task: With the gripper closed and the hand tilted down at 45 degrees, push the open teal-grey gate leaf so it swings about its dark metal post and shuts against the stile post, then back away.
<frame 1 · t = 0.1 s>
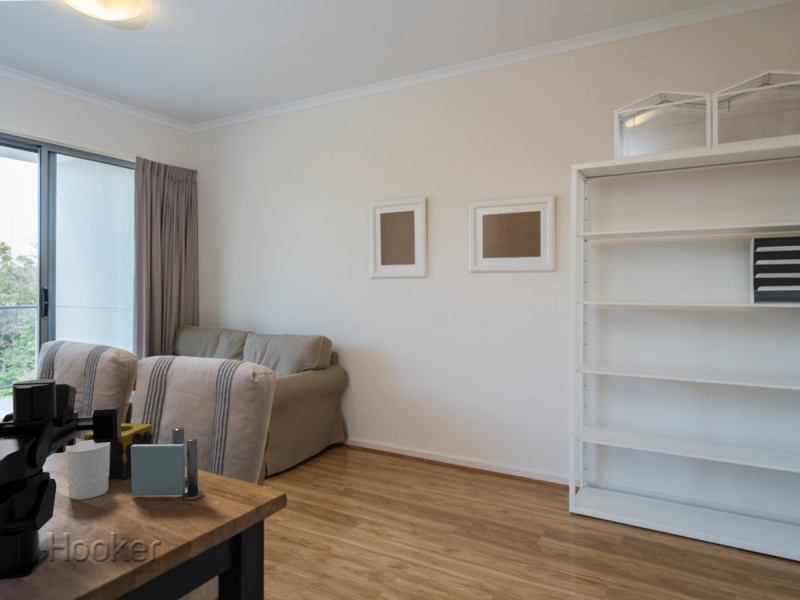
hand: (82, 416, 100), 17 cm above the table, tool horizontal, fingers open, 9 cm apart
stile post: (179, 481, 109), on the table
white cup: (89, 494, 103), on the table
holed cube box: (119, 472, 115), on the table
gate: (158, 469, 101), point 6 cm above the table, hinge at 40.0°
hinge post: (193, 496, 101), on the table
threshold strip: (175, 486, 105), on the table
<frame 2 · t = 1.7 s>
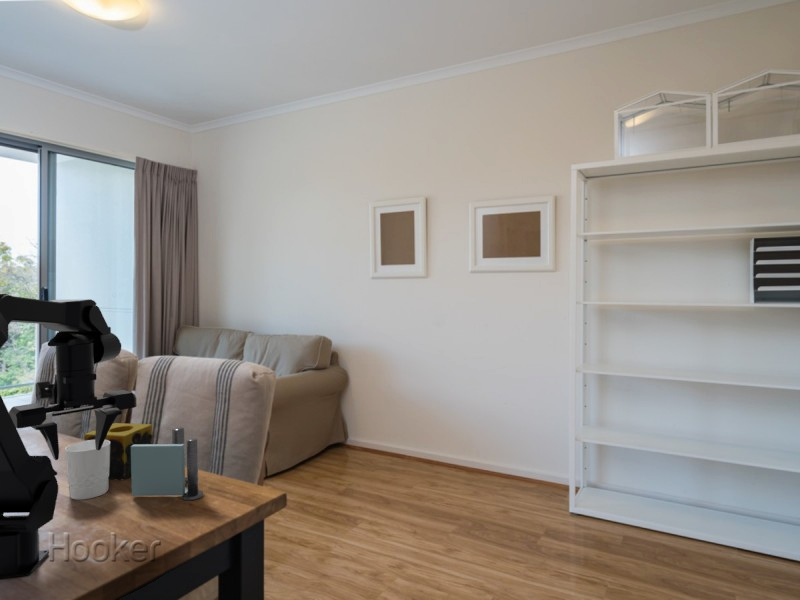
hand: (77, 454, 91), 12 cm above the table, tool pointing down, fingers open, 6 cm apart
nothing on the table moved.
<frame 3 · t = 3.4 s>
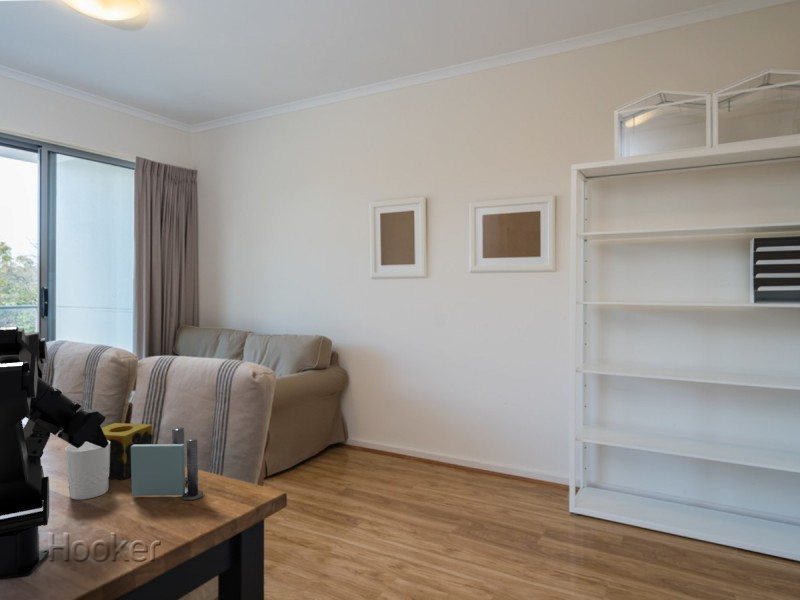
hand: (106, 445, 95), 12 cm above the table, tool tilted 45°, fingers closed
nothing on the table moved.
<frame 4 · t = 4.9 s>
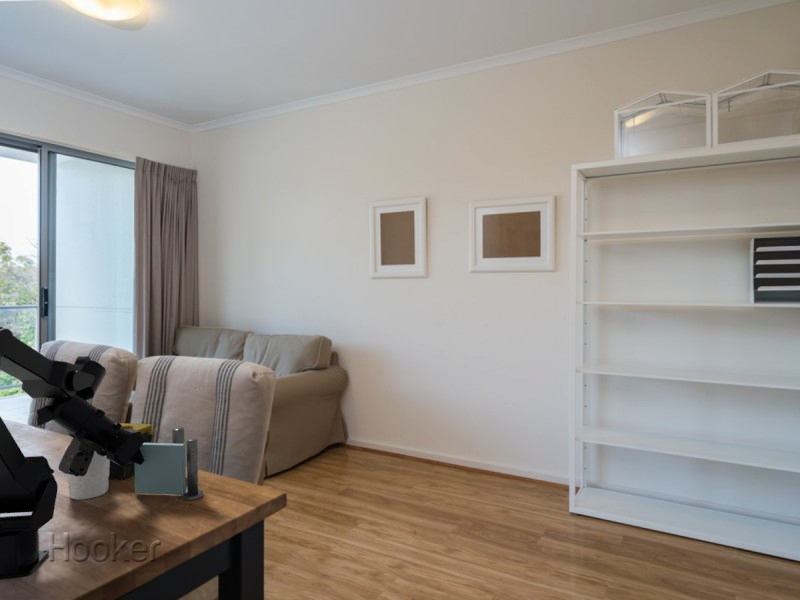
hand: (141, 462, 101), 7 cm above the table, tool tilted 45°, fingers closed
gate: (160, 468, 101), point 6 cm above the table, hinge at 33.9°, touching gripper
everything else where it was.
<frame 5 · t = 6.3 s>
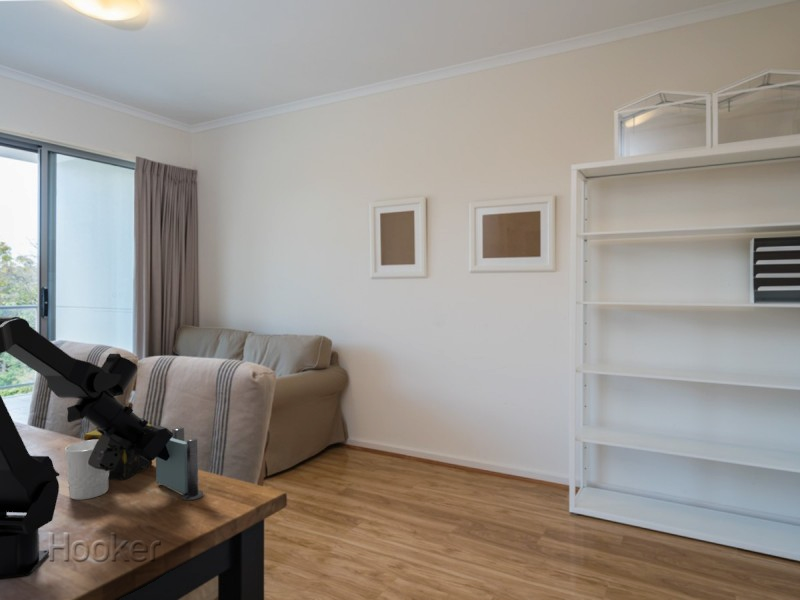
hand: (165, 457, 104), 7 cm above the table, tool tilted 45°, fingers closed
gate: (172, 463, 104), point 6 cm above the table, hinge at 6.5°, touching gripper
everything else where it was.
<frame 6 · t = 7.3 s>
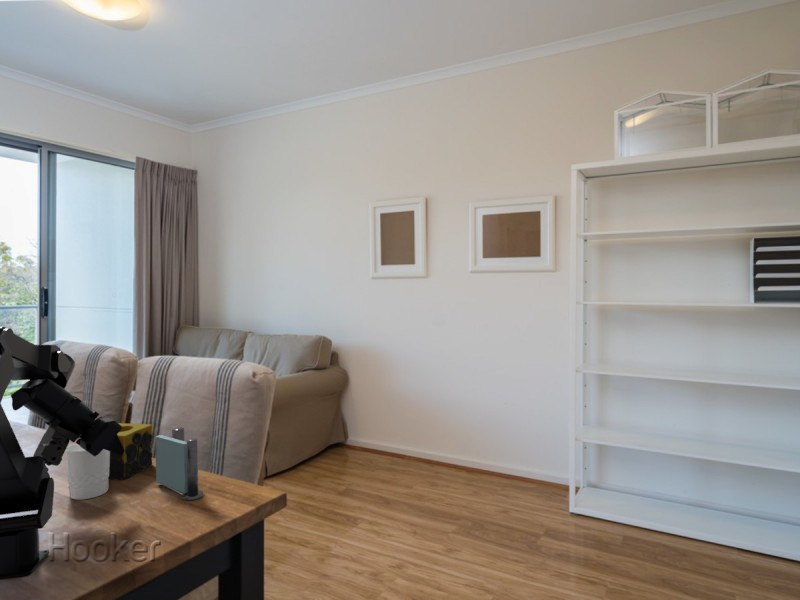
hand: (122, 452, 97), 10 cm above the table, tool tilted 45°, fingers closed
gate: (172, 463, 104), point 6 cm above the table, hinge at 6.5°
everything else where it was.
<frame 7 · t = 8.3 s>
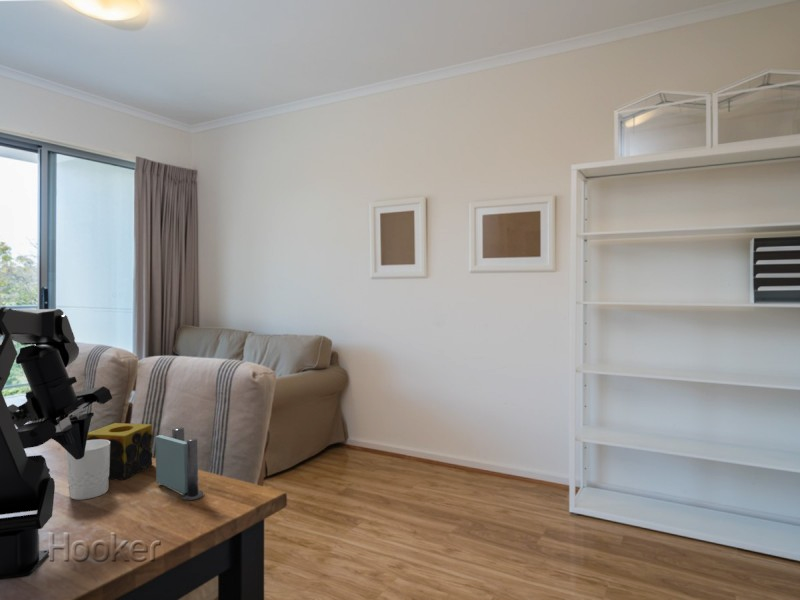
hand: (80, 458, 91), 11 cm above the table, tool tilted 15°, fingers closed
nothing on the table moved.
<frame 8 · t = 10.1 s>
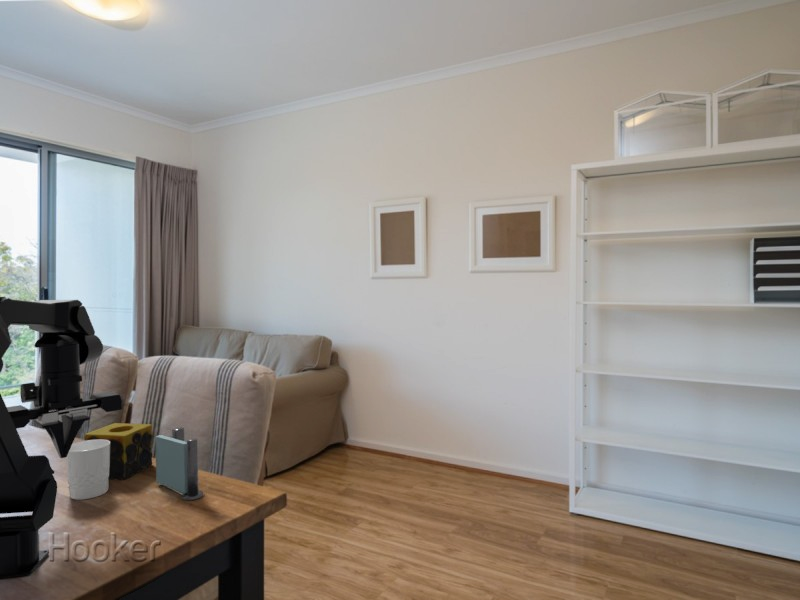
hand: (63, 457, 89), 12 cm above the table, tool pointing down, fingers closed
nothing on the table moved.
at the end: gate at +6° (first picture: +40°) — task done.
